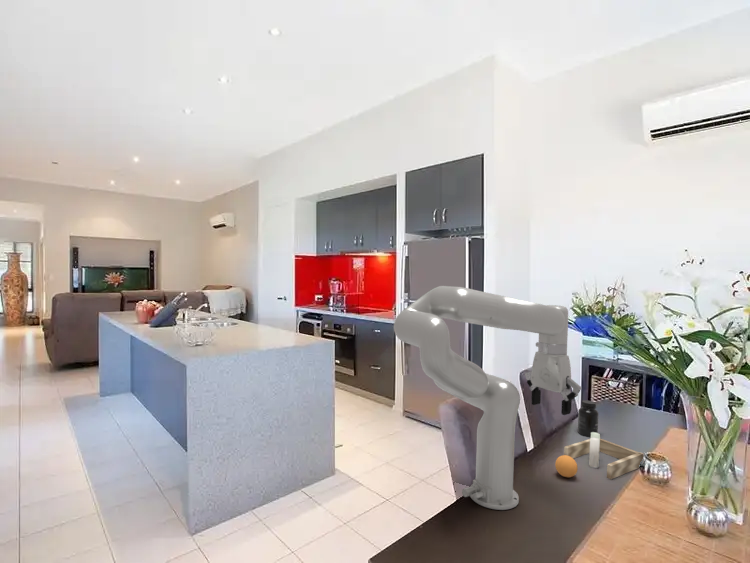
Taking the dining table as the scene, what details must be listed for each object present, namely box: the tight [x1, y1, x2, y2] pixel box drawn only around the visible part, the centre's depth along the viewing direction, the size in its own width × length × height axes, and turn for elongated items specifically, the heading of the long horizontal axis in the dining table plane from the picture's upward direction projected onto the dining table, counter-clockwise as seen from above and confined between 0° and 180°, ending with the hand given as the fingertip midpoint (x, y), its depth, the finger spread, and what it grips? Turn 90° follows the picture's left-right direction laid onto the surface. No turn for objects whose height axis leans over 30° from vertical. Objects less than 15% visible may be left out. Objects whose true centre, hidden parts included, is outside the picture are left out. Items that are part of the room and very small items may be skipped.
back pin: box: [590, 432, 601, 449], centre depth 136 cm, size 3×3×8 cm
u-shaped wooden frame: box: [563, 437, 645, 480], centre depth 134 cm, size 18×15×4 cm
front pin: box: [588, 437, 600, 469], centre depth 131 cm, size 3×3×8 cm
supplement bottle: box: [577, 399, 600, 438], centre depth 158 cm, size 7×7×12 cm
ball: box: [555, 454, 579, 478], centre depth 124 cm, size 6×6×6 cm
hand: (550, 408), depth 120 cm, fingers open, 9 cm apart
